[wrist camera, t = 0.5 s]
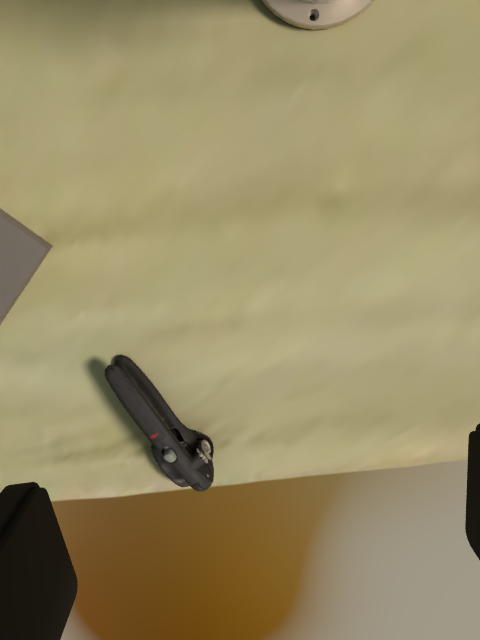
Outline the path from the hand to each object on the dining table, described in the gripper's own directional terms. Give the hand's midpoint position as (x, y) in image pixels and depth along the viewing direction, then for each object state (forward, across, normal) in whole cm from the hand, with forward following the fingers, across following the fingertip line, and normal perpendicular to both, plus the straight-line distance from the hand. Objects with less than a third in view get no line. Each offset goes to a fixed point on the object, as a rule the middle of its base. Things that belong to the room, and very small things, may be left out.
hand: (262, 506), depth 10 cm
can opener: (+36, +11, +18) cm, 42 cm away
